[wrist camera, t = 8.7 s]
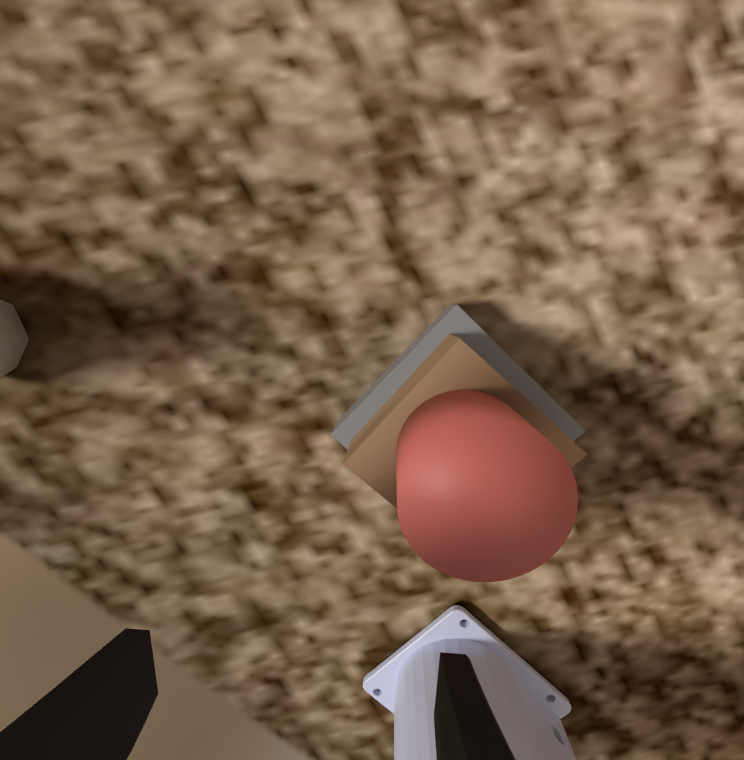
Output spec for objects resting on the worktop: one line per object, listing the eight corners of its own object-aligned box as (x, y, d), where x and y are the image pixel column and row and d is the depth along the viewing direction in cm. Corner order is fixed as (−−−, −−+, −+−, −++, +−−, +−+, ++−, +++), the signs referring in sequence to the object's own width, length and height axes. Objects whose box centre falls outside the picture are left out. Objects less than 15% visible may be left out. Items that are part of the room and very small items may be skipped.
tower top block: (557, 431, 16) (587, 454, 13) (454, 527, 17) (464, 564, 14) (449, 333, 15) (459, 338, 13) (350, 440, 16) (343, 463, 14)
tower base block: (559, 414, 18) (586, 431, 16) (446, 514, 20) (454, 544, 17) (447, 304, 17) (456, 304, 15) (339, 418, 19) (330, 434, 16)
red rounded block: (558, 449, 13) (617, 501, 10) (463, 535, 14) (486, 611, 11) (459, 361, 13) (485, 383, 9) (369, 457, 14) (360, 509, 10)
